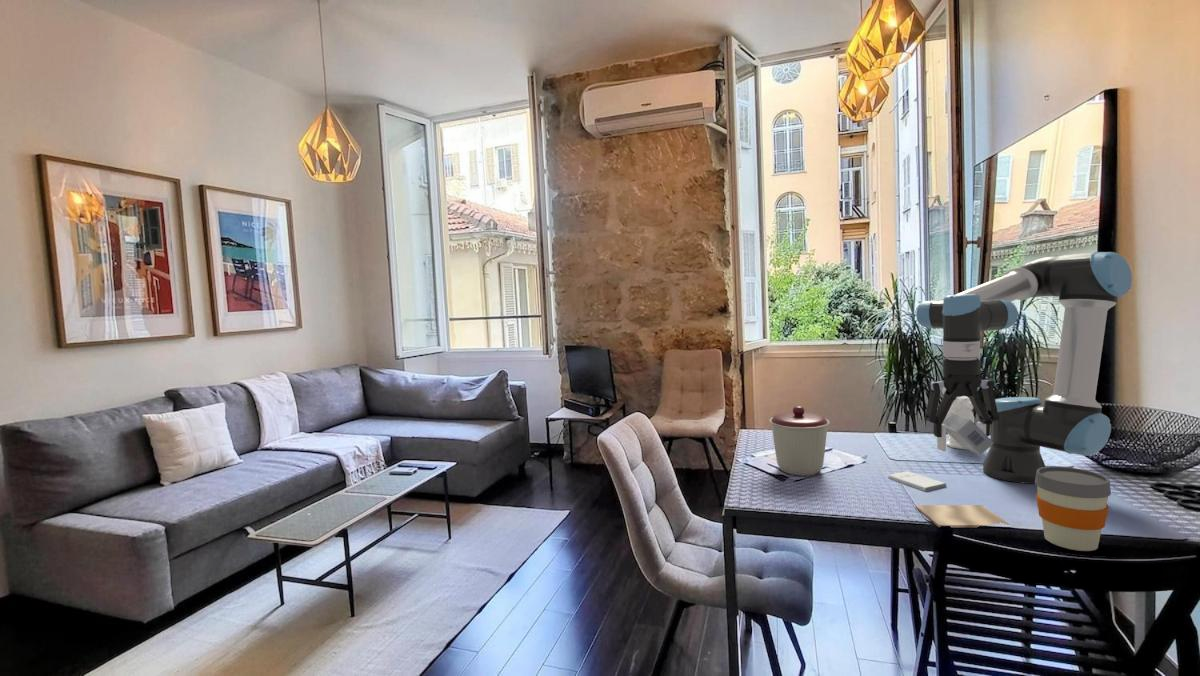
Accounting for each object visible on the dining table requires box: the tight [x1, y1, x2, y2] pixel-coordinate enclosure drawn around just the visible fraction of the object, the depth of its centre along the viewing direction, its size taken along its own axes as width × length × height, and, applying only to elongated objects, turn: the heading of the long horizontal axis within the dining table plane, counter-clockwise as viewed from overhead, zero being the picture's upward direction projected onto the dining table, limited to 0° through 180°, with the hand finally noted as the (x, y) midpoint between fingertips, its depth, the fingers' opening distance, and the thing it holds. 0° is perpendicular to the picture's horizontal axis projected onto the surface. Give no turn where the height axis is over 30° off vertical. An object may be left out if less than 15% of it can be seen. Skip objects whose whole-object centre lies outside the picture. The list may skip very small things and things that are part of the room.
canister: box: [768, 405, 830, 477], centre depth 173 cm, size 18×18×21 cm
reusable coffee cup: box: [1034, 466, 1112, 552], centre depth 119 cm, size 13×13×15 cm
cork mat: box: [915, 504, 1010, 529], centre depth 134 cm, size 16×12×1 cm
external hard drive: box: [887, 470, 947, 492], centre depth 159 cm, size 2×8×12 cm
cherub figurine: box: [941, 386, 975, 450], centre depth 187 cm, size 12×12×22 cm
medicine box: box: [942, 413, 994, 456], centre depth 131 cm, size 8×4×9 cm
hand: (961, 449), depth 133 cm, fingers closed on medicine box, 8 cm apart
